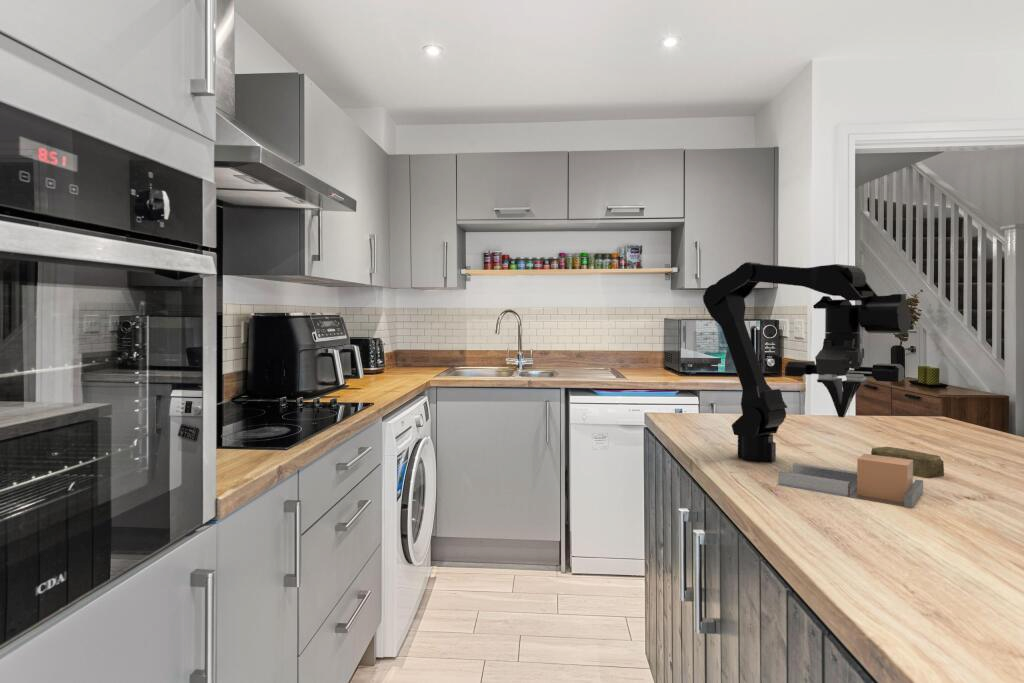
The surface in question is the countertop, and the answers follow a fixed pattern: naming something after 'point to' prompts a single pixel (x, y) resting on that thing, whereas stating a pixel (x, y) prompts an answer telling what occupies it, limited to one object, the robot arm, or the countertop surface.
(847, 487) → the chute
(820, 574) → the countertop surface
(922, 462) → the stone block
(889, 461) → the block
